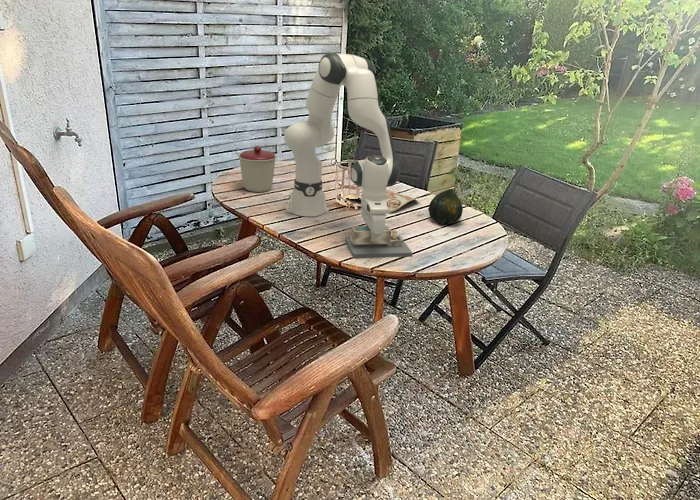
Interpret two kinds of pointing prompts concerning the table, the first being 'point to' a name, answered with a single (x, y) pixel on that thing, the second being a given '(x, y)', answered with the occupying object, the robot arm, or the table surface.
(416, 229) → the table surface
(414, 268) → the table surface
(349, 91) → the robot arm
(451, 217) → the squash
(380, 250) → the board
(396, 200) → the poster
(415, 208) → the table surface
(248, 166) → the canister
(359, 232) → the frame
